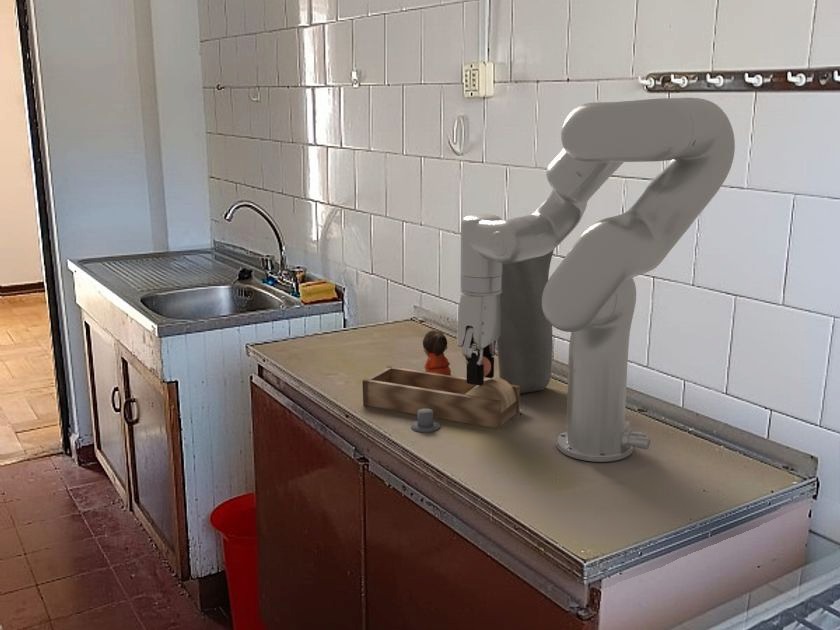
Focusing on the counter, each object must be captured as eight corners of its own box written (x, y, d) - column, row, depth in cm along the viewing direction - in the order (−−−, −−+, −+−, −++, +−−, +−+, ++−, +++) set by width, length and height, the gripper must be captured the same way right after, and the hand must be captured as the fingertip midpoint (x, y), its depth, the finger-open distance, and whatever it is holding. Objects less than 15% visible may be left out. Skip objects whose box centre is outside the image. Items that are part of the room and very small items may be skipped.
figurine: (458, 386, 177) (458, 330, 174) (440, 393, 173) (440, 335, 170) (435, 380, 181) (435, 325, 178) (417, 386, 177) (416, 330, 174)
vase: (506, 402, 167) (508, 249, 160) (482, 383, 179) (482, 240, 171) (563, 395, 171) (567, 245, 164) (535, 376, 182) (538, 236, 175)
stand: (444, 424, 156) (444, 408, 156) (431, 434, 152) (431, 418, 151) (419, 420, 159) (419, 404, 158) (405, 429, 154) (405, 413, 154)
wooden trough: (519, 418, 163) (519, 378, 161) (498, 437, 155) (499, 394, 153) (389, 397, 176) (388, 359, 174) (363, 412, 167) (362, 373, 165)
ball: (474, 372, 162) (474, 351, 161) (494, 375, 160) (494, 354, 159) (465, 378, 159) (465, 357, 158) (485, 381, 157) (485, 360, 156)
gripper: (481, 273, 164) (480, 365, 168) (442, 291, 149) (442, 391, 154) (518, 277, 160) (516, 370, 165) (481, 295, 146) (480, 397, 151)
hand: (480, 379), depth 159 cm, fingers closed on ball, 4 cm apart
